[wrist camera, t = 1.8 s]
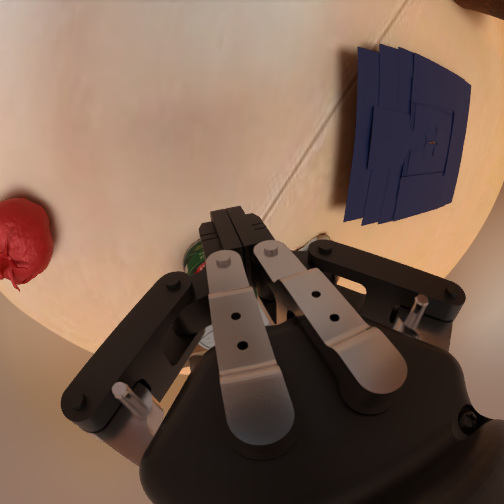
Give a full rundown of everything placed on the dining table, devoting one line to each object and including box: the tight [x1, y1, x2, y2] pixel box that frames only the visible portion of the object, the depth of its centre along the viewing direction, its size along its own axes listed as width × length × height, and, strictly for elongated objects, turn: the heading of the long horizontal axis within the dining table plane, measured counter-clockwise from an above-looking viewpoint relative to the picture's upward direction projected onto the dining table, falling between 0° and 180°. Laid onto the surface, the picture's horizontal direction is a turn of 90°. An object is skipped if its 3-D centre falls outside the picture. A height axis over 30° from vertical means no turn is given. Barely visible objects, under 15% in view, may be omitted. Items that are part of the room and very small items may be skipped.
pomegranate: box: [0, 197, 53, 291], centre depth 20 cm, size 10×10×9 cm
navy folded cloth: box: [343, 43, 471, 226], centre depth 31 cm, size 24×30×4 cm
